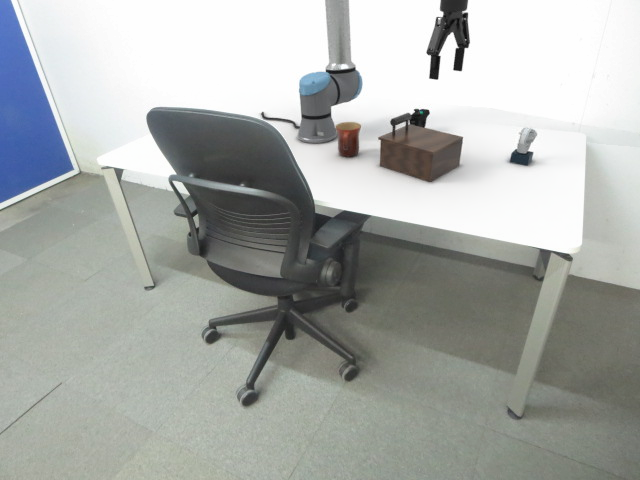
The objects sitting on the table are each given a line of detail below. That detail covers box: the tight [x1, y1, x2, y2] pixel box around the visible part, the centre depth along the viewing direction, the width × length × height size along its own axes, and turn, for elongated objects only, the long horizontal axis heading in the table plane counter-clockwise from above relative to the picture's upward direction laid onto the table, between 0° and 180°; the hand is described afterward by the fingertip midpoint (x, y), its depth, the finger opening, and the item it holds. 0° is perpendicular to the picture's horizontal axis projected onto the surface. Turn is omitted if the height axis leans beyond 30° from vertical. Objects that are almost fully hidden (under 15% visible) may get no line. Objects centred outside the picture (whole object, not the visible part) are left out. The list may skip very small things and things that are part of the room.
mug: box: [335, 121, 362, 158], centre depth 147 cm, size 12×9×10 cm
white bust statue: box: [509, 126, 538, 167], centre depth 136 cm, size 6×8×11 cm
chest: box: [379, 138, 464, 183], centre depth 137 cm, size 20×17×9 cm
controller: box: [409, 108, 431, 128], centre depth 164 cm, size 4×12×10 cm, turn 145°
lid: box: [377, 112, 464, 155], centre depth 134 cm, size 21×17×6 cm
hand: (445, 74), depth 131 cm, fingers open, 13 cm apart
